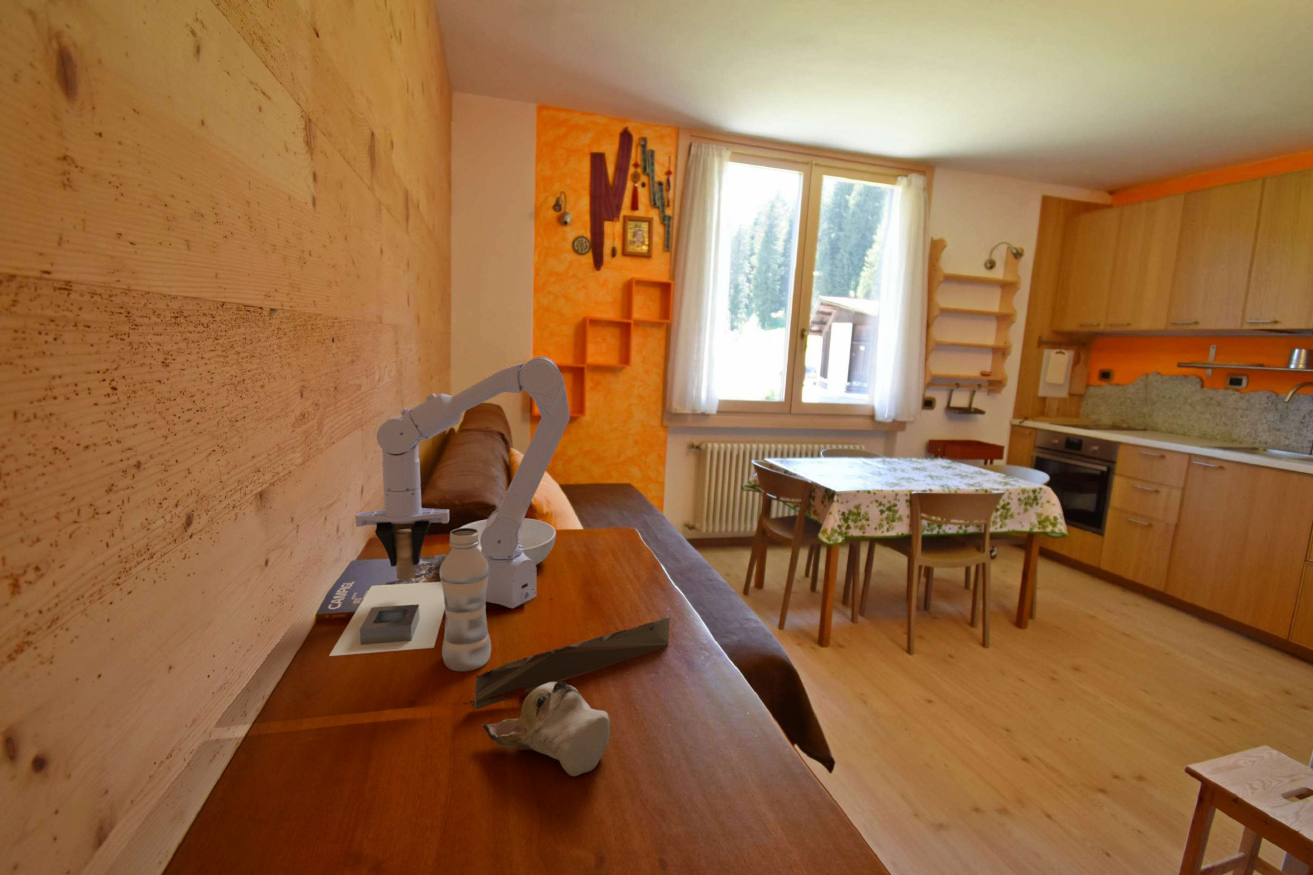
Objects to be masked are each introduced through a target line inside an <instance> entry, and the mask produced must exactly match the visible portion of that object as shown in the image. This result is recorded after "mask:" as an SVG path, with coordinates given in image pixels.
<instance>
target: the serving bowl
mask: <svg viewBox="0 0 1313 875" xmlns="http://www.w3.org/2000/svg"><path fill="white" fill-rule="evenodd" d="M487 520H488V518H487V519H483V520H476V521H474V522H470V523H467V524H464V525H462V526H461V527H459V528H474V529H477V530H478V539H479V545H478V546H477V548H478V549H479V550H480V551H481V549H482V547H481V544H480V538H481V534H482V532H483V531H484V529H485V527H486V524H487ZM556 534H557V532H556V528H555V527H554V526H552V525H551V524H549V523H547V522H545V521H543V520H538V519H533V518H525V517H524V520H523V522H522V528H521V531H520V534H519V542H520V544H521V545H522V546H523V552H524V554H525V555H526V556H527V557H528V558H529V559H531V560H532V561H533V562H534V563H535V565H536V566H537V565H538V564H540V563H541V562H543V561H544V560H545V559H546V558H547V557H548V556H549V555H550V553H551V551H553V547H554V545H555V542H556V536H557V535H556Z"/></svg>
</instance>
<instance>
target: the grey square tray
mask: <svg viewBox="0 0 1313 875" xmlns="http://www.w3.org/2000/svg"><path fill="white" fill-rule="evenodd" d="M419 619H420V618H419V604H417V605H402V606H387V607H372V608H371V610H370V612H369V613H368V615H367V617H366V619H365V621H364V622H363V624H362V626H361V628H360V642H361V645H364V644H377V643H390V642H402V641H412V638H413V635H414V633H415V630H416V627H417V624H418V622H419Z"/></svg>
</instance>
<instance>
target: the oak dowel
mask: <svg viewBox="0 0 1313 875" xmlns="http://www.w3.org/2000/svg"><path fill="white" fill-rule="evenodd" d="M411 529H412V528H404V529H398V530H397V531H396V532H395V550H396V566H395V570H396V578H397V579H398V580H403V581H405V580H410V579H413V578H415V577H416V574H417V573H416V565H414V563H413V551H414V548H413V538H412V531H411Z"/></svg>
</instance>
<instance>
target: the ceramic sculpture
mask: <svg viewBox="0 0 1313 875" xmlns="http://www.w3.org/2000/svg"><path fill="white" fill-rule="evenodd" d="M610 726H611V719H610V716H609V714H608V713H607V712H606V711H605V710H600V709H594V708H591V706H590V705H589V704H588V703H587V701H586V700H585V699H584V698H583V696H582V695H581V694H580V693H579V691H578V689H577V688H576V687H574V686H573V685H570V684H567V683H566V682H564V681H561V682H549V683H546V684H544V685H541V686H539V687H537V688H536V689H534V690H533V691H530V692H528V695H527V696H525V698H524V699H523V703H522V705H521V711H520V716H519V717H518V718H506V719H503V720H502V721H499V722H497V723H483V724H482V728H483V729H484V731H485V733H486V734H487V735H488V737H489V738H490V739H491V740H492V741H493V742H495V743H496V744H497V745H498V746H500V747H502V748H504V749H507V750H527V751H528V750H533V751H535V752H537V753H540V754H543V755H546V756H549V757H550V758H552V759H555V760H557V761H559V763H560V765H561V767H562V769H564V771H565V772H566V774H568V775H569V776H571V777H578V776H580V775H581V774H586V773H588V772H591V771H592V770H594V769H595V768H596V767H597V765H598V763H599V761H600V760H601V759H602V756H603V755H604V754H605V752H606V749H607V747H608V745H609V741H610V736H611V732H610V731H611V730H610V729H611V727H610Z"/></svg>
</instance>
